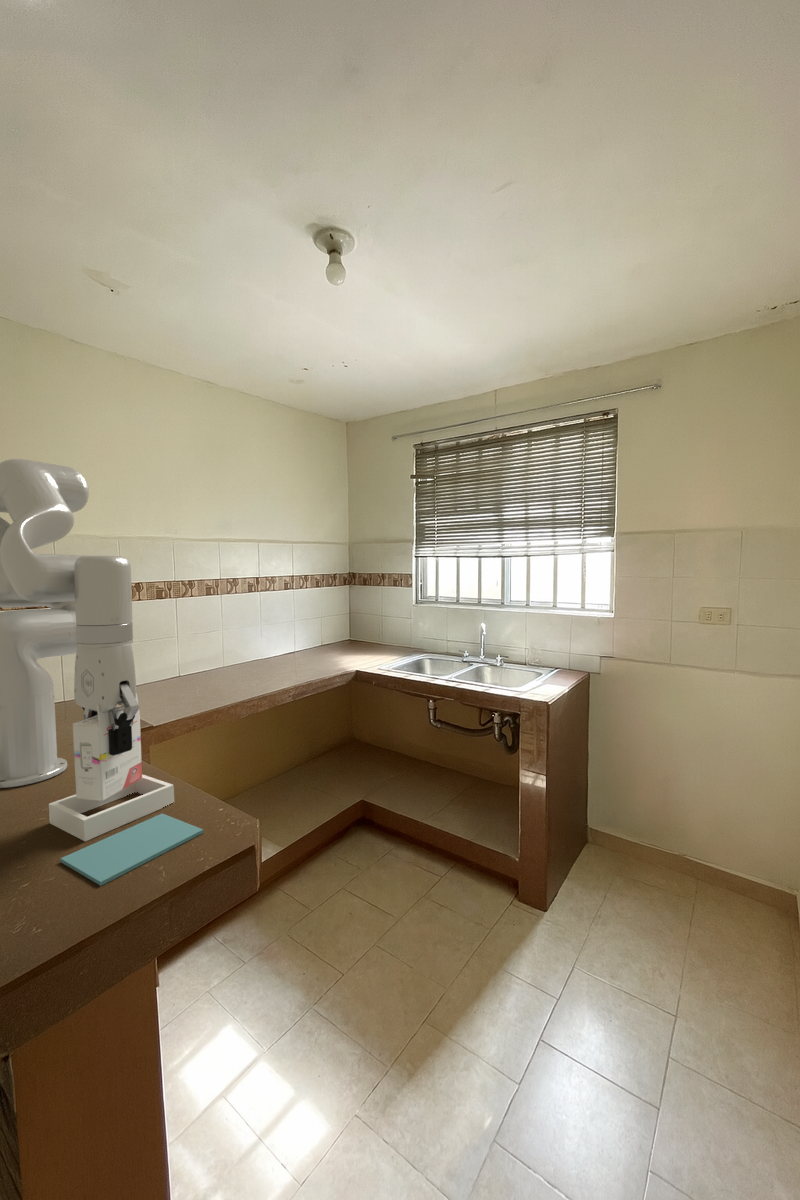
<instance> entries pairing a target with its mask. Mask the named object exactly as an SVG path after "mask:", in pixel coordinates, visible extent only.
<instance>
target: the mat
mask: <svg viewBox="0 0 800 1200" xmlns="http://www.w3.org/2000/svg"><path fill="white" fill-rule="evenodd" d="M203 834H204V829H203V828H201V827H199V826H196V825H194V824H193V825H192V824H190V823H188V822H186V821H183V820H181V819H178V818H175V817H172V816H170V815H167V814H165V813H159V814H158V815H155V816H152V817H151V818H148V819H146V820H143V821H141V822H140V823H137V824H135V825H132V826H131V827H128V828H126V829H124V830H122V831H120V832H117V833H115V834H111V836H108V837H105V838H103V839H101V840H99V841H97V842H94V843H92V844H90V845H87V846H86V847H83V848H81V849H79V850H76V851H74V852H72V853H70V854H68V855H65V856H63V857H61V858H60V863H61V864H63V865H65V866H66V867H68V868H70V869H72V870H73V871H75V872H77V874H80V875H81V876H82V877H83V876H84V877H85V878H86V879H88V880H90V881H91V882H93V883H95V884H97V885H99V887H102V886H105V885H106V884H108V883H111V882H112V881H113V880H115V879H118V878H119V877H121V876H123V875H125V874H126V873H129V872H131V871H132V870H134V869H137V868H138V867H140V866H142V865H144V864H146V863H148V862H150V861H153V859H156V858H158V857H160V856H161V855H164V854H166V853H167V852H169V851H171V850H174V849H175V848H177V847H179V846H181V845H184V843H186V842H188V841H191V840H192V839H194V838H197V837H198V836H201V835H203Z"/></svg>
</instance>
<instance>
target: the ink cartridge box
mask: <svg viewBox="0 0 800 1200" xmlns="http://www.w3.org/2000/svg"><path fill="white" fill-rule="evenodd" d="M136 701H137V703H138V704H139V699H138V693H137V692H136ZM120 704H122V703H120ZM117 705H118V704H116V706H117ZM97 713H98V715H96V716H93V717H91V718H88V719H85V720H84V719H82V720H80V721H76V722H73V723H72V737H73V755H74V756H73V757H74V775H75V776H74V777H75V794H76V798H77V799H87V800H97V801H104V800H105V799H107V798H109V797H111V796H112V795H114V794H116V793H117V792H119V791H121V790H123V789H124V788H126V787H128V786H129V785H131V784H133V783H135V782H136V781H138V780H140V779H141V778H142V774H143V770H142V769H143V768H142V767H143V766H142V765H143V764H142V742H141V739H142V738H141V714H140V713H141V712H140V708H139V709H138V711H137V713H136V714H135V718H134V719H133V725H132V749H131V750H130V751H127V752H124V753H120V754H117V755H114V756H112V755H110V754H109V729H112V727H111V724H110V719H109V715H108V712H106V713H102V712H100V709H99V705H98V706H97ZM121 713H123V711H121V712H116V716H117V719H118V717H119V716H120V714H121Z"/></svg>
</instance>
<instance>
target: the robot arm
mask: <svg viewBox="0 0 800 1200" xmlns="http://www.w3.org/2000/svg"><path fill="white" fill-rule="evenodd" d="M89 493H90V490H89V486H88V482H87V481H86V479H85V477H84V476H83V475H82V473H80V472H79V470H77V469H75V468H72V467H70V466H66V465H62V464H61V465H59V464H53V463H48V462H41V461H37V460H30V459H23V458H12V459H6V460H3V461H1V462H0V513H3V514H4V513H5V514H7V513H8V515H9V516H10V519H11V520H12V523H11V524H10V523H9V522H8V521H7V520H5V519H4V518H2V517H1V516H0V608H2V609H3V608H6V609H7V608H8V609H9V608H10V609H11V608H31V609H18V610H6V611H5V610H4V611H0V789H3V788H4V789H6V788H15V787H22V786H27V785H31V784H36V783H39V782H42V781H45V780H48V779H51V778H53V777H55V776H58V775H59V774H61V773H63V772H65V771H66V769H67V768H68V761H67V759H65V758H62V757H58V745H57V743H58V742H57V730H56V729H57V727H56V709H55V708H56V707H55V689H54V681H53V678H52V676H51V674H50V673H49V672H48V671H47V670H46V669H45V668H44V667H42V666H41V665H40V664H39V663H38V661H37V660H39V659H40V660H41V659H45V658H52V657H53V658H54V657H59V656H60V657H61V656H67V655H68V656H69V655H73V654H75V662H74V681H73V682H74V683H73V684H74V687H73V689H74V691H73V692H74V694H73V695H74V696H73V697H74V703H75V704H76V705H77V706H78V707H81V708H82V710H83V711H84V712H83V720H85V719H88V718H91V717H93V716H96V715H98V713H97V706H98V705H99V709H100V712H102V713H106V712H108V715H109V719H110V724H111V727H112V729H109V754H110V755H112V756H114V755H117V754H120V753H124V752H127V751H130V750H131V749H132V725H133V719H134V718H135V714H136V713H137V711H138V709H139V710H140V705H139V702H138V703H137V701H136V693H137V679H136V667H135V660H134V659H135V658H134V652H133V646H132V645H133V643H134V635H133V634H134V632H133V631H134V629H133V624H134V623H133V598H132V597H133V595H132V587H133V586H132V565H131V562H130V561H129V560H128V559H127V558H126V557H123V556H119V555H78V554H60V553H59V554H57V553H36V552H34V551H33V549H37V548H40V547H43V546H46V545H49V544H51V543H52V544H53V543H55V542H57V541H59V540H62V539H63V538H64V537H66V535H68V534H69V533H70V532H71V530H73V527H74V524H75V518H74V515H73V513H76V512H79V511H81V510H82V509H83V508H84V507H85V506H86V505H87V503H88V501H89V496H90V494H89ZM33 607H48V608H35V609H32V608H33ZM120 703H122V704H120ZM116 704H117V705H119V706H118V707H117V705H116ZM121 711H123V713H121V714H120V716H119V717H118V719H117V716H116V712H121Z"/></svg>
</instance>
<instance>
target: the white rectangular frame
mask: <svg viewBox="0 0 800 1200" xmlns="http://www.w3.org/2000/svg"><path fill="white" fill-rule="evenodd" d="M174 786H175V785H174V784H172V783H169V782H166V781H163V780H161V779H157V778H155V777H151V776H149V775H146V774H143V773H142V778H141V779H140V780H138V781H136V782H135V783H133V784H131V785H129V786H128V787H126V788H124V789H123V790H121V791H119V792H117V793H116V794H114V795H112V796H111V797H109V798H107V799H105V800H104V801H97V800H87V799H77V798H76V793H75V794H73V795H70V796H67V797H64V798H62V799H58V800H56V801H53V802H50V803H48V812H49V814H48V815H49V824H50V825H52V826H54V827H56V828H58V829H60V830H62V831H64V832H66V833H68V834H70V835H72V836H74V837H76V838H77V839H80V840H81V841H83V842H87V841H91V840H92V839H94V838H96V837H99V836H101V835H103V834H106V833H108V832H110V831H112V830H115V829H117V828H119V827H121V826H122V827H123V826H124V825H127V824H128V823H131V822H133V821H136V820H138V819H141V818H143V817H145V816H147V815H150V814H152V813H154V812H156V811H159V810H162V809H163V807H164V808H165V806H166V807H168V806H170V805H169V804H171V803H173V802H174V803H175V787H174ZM134 792H135V793H137V792H138V793H137V794H139V796H136V797H134V798H132V799H129V800H126V801H123V802H122V803H118V804H116V805H113V806H111V807H108V808H105V809H104V810H101V811H98V812H96V813H93V814H91V815H89V816H87V815H84V814H83V813H86V812H88V811H91V810H93V809H96V808H98V807H103V805H106V804H109V803H111V802H114V801H117V800H119V799H122V798H124V797H127V795H128V796H130V795H132V793H133V794H135V793H134ZM129 794H130V795H129ZM142 794H143V795H142ZM174 803H173V804H174ZM167 805H168V806H167ZM171 805H172V804H171Z"/></svg>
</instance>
